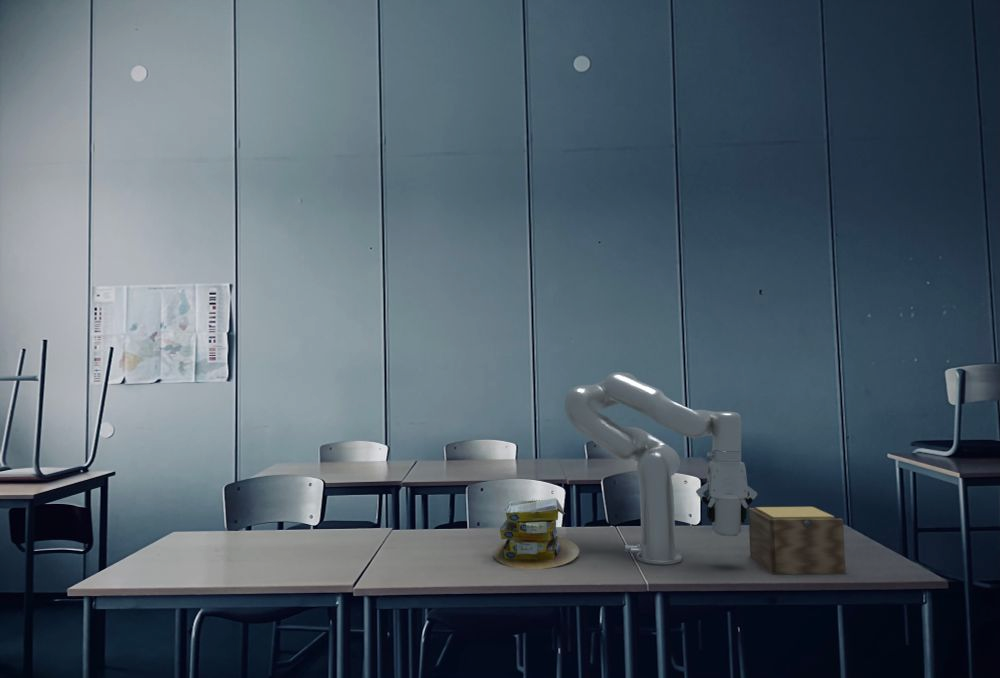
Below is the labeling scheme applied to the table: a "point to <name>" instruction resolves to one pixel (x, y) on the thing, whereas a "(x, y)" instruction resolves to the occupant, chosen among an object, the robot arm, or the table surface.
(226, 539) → the table surface
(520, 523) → the stacked yellow boxes
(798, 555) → the trapdoor frame
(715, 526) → the can
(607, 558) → the table surface
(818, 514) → the trapdoor flap
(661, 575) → the table surface
